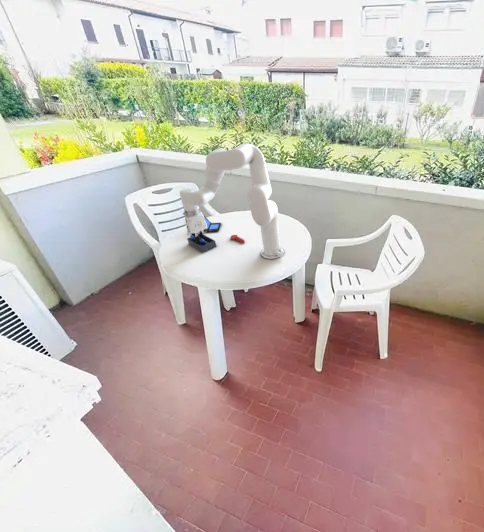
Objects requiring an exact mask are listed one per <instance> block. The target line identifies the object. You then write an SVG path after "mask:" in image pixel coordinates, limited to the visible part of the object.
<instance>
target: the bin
mask: <svg viewBox="0 0 484 532" xmlns="http://www.w3.org/2000/svg"><path fill="white" fill-rule="evenodd" d="M197 235H198V236H199V237H200V235H199V233H197ZM204 239H205V241H207V242H209V243H208V244H203V243H201V244H200V243H198V242H197V241H196V240H195V239H191V238H190V237H188V238H186V240H187V244H188V246H191V247H192V248H194V249H196V250H197V251H199V252H201V254H202V253H205V252H208V251H210V250H212V249H214V248H217V243H216V240H215V239H213V238H211V237H209V236H207V235H205V234H204Z"/></svg>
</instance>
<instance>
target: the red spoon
mask: <svg viewBox="0 0 484 532" xmlns="http://www.w3.org/2000/svg"><path fill="white" fill-rule="evenodd" d="M230 239H231V240H232V241H237V242H239V243H241V244H245V241H246V240H245V239H243V238H241V237H239V236H238V235H237V234H232V235H230Z"/></svg>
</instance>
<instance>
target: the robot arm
mask: <svg viewBox="0 0 484 532" xmlns="http://www.w3.org/2000/svg"><path fill="white" fill-rule="evenodd" d="M205 164H206V167H205V169H204V172H203V175H204V177H205V178H206V180H205V182H204V184H203V186H202V187H201V188H199V189H198V190H194V189H193V188H191V187H190V188H183V189H181V190H180V191H179V196H180V200H181V204H182V206H183V209H184V210H183V212H182V215H183V216H184V221H185V227H186V230H187V232H186V235H187V236H190V235H193V236H194V237H195V240H196V241H197V242H199V243H200V239H199V236H198V234H199V235H200V238H202V239H204V235H205V232H206V231H207V230H206V229H207V228H208V226H207V224H206V221H205V218H204V216H205V215H204V214H203V212H202V211H201V210H200V207H203V206H205V205H206V204H208V203H209V202H210V201H212V199H214V197H216V194H217V192H218V190H219V189H220V186H221V182H222V179H223V178H224V175H225V173H226V172H227V171H234V170H240V169H242V168H244V167H245V166H247V165H248V166H249V176H250V179H251V183H252V185H251V187H250V188H249V189H248V191H247V203H248V206H249V210H250V213H251V217H252V220H253V221H254V223H255V224H256V225H258V226H260V233H261V242H262V247H263V249H262V250H261V251H260V253H261V254H260V255H261V256H262V258H265V259H269V260H274V259H278V258H282V257H283V256H284V254H285V251H284V249H283V248H282V247H281V243H280V242H281V241H280V240H281V239H280V231H279V209H278V205H277V203H276V202H274V200H271V199H270V198H271V196H272V192H273V191H272V185H271V180H270V176H269V172H268V168H267V163H266V159H265V156H264V154H263V152H262V151H261V149H259V147H257V146H256V145H254V144H252V143H249V142H247V143H240V144H239V145H237V146H236V147H234V148H231V149H226V148H223V147H219V148H216V149H214V150H212V151H210V152H209V153H207V155H206V157H205ZM203 215H204V216H203Z"/></svg>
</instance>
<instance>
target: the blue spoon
mask: <svg viewBox="0 0 484 532" xmlns="http://www.w3.org/2000/svg"><path fill="white" fill-rule="evenodd" d="M189 238H191V239H195V237H194V236H193V235H189ZM199 239H200V242H204V239H202V238H200V237H199Z"/></svg>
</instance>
